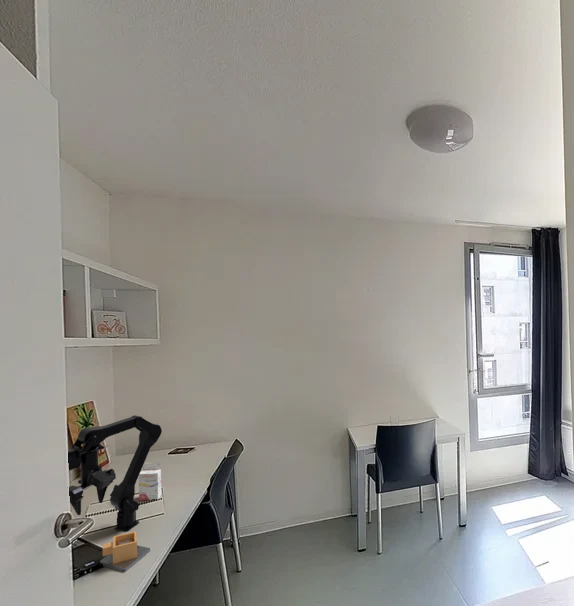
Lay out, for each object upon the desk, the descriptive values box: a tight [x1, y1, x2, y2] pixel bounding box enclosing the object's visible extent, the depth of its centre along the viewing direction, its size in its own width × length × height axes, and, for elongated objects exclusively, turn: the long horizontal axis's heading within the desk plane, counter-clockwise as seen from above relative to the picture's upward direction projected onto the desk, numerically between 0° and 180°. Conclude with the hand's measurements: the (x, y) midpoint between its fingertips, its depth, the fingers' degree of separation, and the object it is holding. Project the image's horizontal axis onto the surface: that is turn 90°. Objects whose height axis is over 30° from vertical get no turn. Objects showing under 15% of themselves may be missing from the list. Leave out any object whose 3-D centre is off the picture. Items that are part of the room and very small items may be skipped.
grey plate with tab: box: [99, 539, 151, 573], centre depth 125 cm, size 11×11×4 cm
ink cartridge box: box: [138, 462, 162, 501], centre depth 169 cm, size 9×5×15 cm, turn 92°
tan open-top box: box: [102, 530, 138, 564], centre depth 124 cm, size 7×10×5 cm
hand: (90, 508), depth 135 cm, fingers open, 9 cm apart
